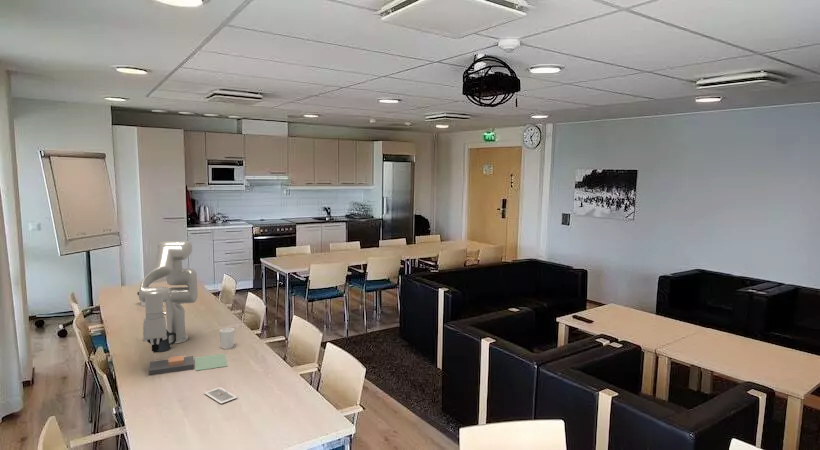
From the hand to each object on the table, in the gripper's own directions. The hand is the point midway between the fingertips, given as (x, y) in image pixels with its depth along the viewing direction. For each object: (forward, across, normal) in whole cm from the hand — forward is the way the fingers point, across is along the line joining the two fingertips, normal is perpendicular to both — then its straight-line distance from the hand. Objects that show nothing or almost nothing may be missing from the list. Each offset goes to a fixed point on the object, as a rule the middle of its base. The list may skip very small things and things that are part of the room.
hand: (155, 351), depth 236 cm
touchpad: (+11, -27, +41) cm, 51 cm away
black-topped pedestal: (+7, +9, -131) cm, 131 cm away
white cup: (+9, -35, -21) cm, 42 cm away
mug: (+9, -3, -31) cm, 32 cm away
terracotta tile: (+7, -9, -1) cm, 12 cm away
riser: (+10, -7, -1) cm, 12 cm away
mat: (+10, -25, -1) cm, 27 cm away
